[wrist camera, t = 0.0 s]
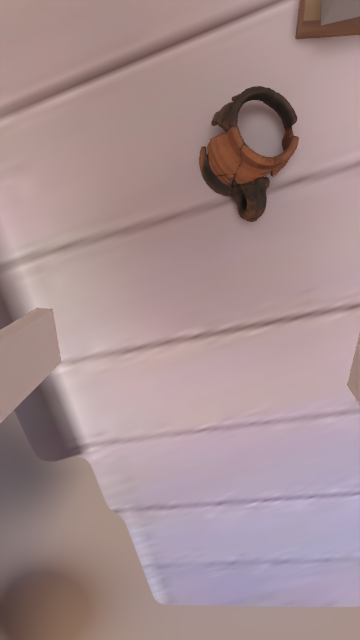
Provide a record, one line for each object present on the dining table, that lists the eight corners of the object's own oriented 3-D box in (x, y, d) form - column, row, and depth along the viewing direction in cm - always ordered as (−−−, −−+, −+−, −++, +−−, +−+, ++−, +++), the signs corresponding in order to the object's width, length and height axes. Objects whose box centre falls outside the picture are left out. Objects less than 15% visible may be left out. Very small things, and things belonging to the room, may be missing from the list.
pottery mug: (185, 132, 36) (209, 79, 27) (258, 124, 38) (300, 72, 30) (208, 236, 36) (239, 215, 28) (279, 222, 39) (325, 199, 31)
